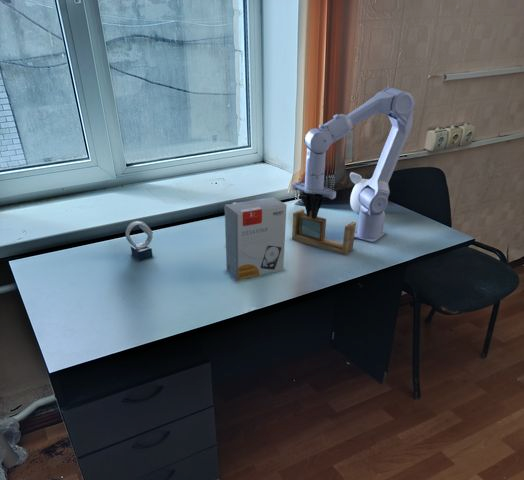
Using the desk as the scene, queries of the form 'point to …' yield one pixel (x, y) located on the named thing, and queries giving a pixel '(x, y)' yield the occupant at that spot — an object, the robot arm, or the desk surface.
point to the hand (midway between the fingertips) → (311, 216)
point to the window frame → (326, 243)
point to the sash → (311, 227)
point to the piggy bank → (356, 191)
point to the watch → (141, 249)
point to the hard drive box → (255, 237)
